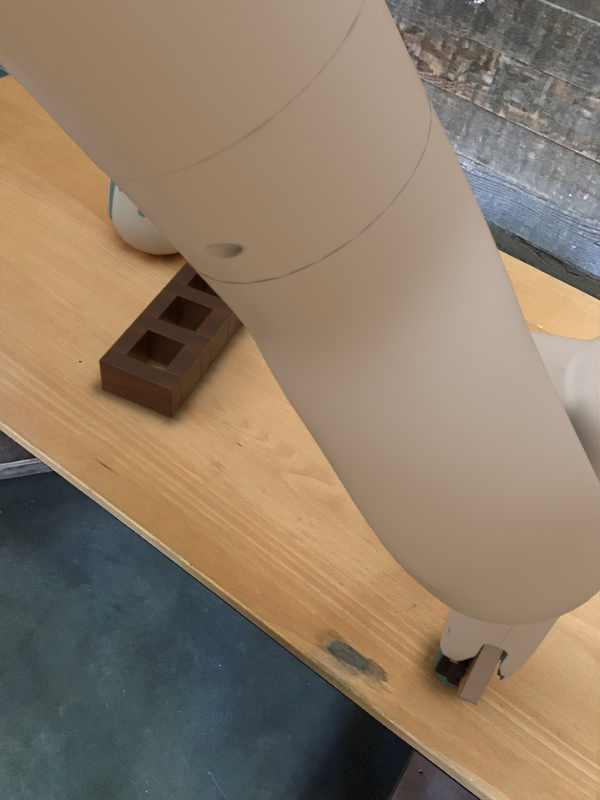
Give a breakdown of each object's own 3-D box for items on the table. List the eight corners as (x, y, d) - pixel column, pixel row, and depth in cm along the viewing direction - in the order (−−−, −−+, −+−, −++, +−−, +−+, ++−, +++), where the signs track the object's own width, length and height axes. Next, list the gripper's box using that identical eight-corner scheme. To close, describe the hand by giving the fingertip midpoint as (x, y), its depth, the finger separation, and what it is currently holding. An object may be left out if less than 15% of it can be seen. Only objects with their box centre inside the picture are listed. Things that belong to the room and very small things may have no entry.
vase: (143, 280, 84) (137, 131, 70) (91, 225, 89) (75, 77, 76) (229, 247, 89) (238, 103, 76) (174, 197, 95) (174, 55, 81)
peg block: (171, 418, 72) (171, 390, 69) (101, 389, 73) (98, 360, 70) (257, 301, 84) (260, 273, 81) (196, 278, 85) (197, 249, 82)
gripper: (519, 403, 49) (443, 548, 63) (454, 616, 38) (380, 735, 52) (634, 447, 48) (531, 585, 61) (599, 680, 37) (484, 785, 51)
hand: (462, 653), depth 57 cm, fingers closed on peg, 3 cm apart
